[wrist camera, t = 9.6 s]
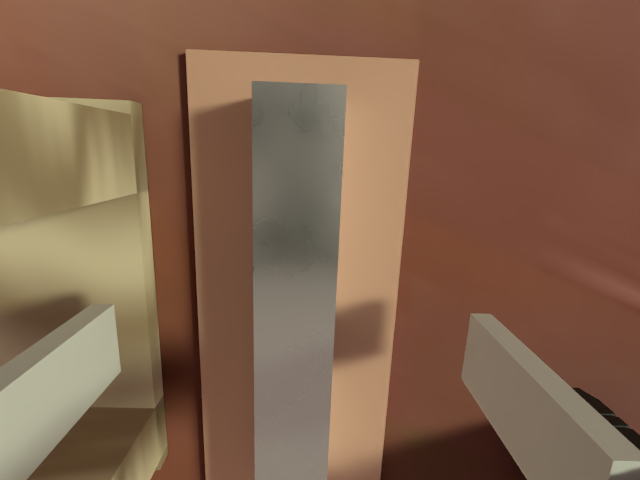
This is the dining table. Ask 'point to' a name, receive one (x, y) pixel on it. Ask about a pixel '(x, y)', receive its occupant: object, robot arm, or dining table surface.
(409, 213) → the dining table surface
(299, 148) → the rail
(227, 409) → the mat
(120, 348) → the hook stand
